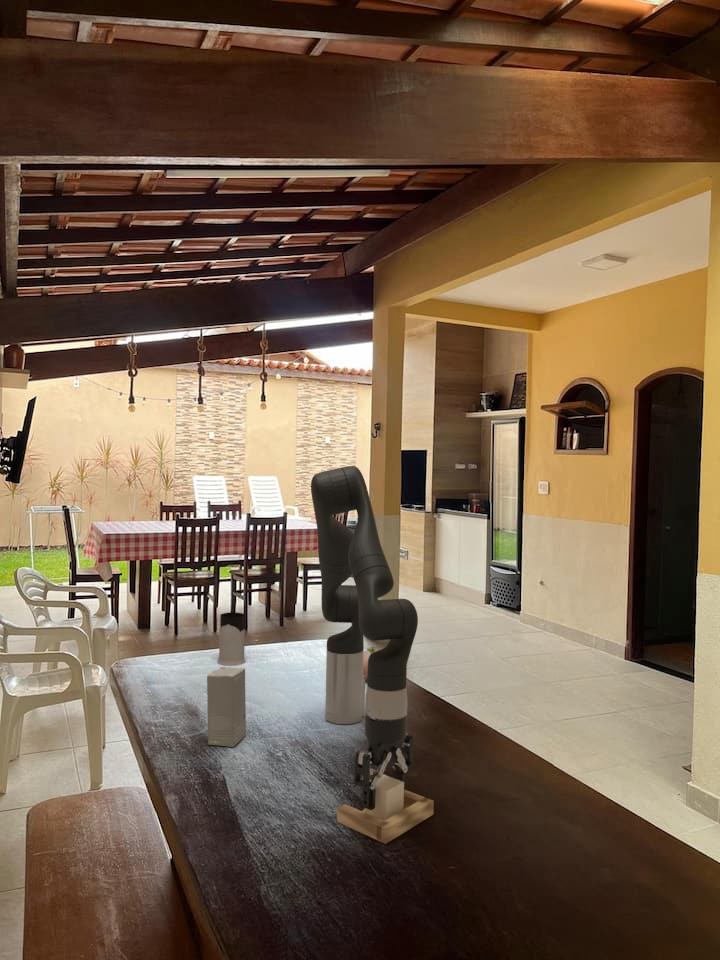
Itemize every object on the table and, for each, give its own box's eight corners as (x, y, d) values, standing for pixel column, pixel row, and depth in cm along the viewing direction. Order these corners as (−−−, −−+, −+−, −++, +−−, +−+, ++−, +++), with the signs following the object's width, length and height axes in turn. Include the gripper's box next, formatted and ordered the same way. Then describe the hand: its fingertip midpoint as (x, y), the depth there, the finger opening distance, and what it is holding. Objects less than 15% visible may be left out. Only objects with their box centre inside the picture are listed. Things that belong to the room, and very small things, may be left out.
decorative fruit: (351, 678, 215) (352, 644, 215) (376, 675, 219) (377, 642, 219) (365, 687, 207) (366, 652, 207) (390, 684, 210) (391, 649, 210)
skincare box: (234, 748, 160) (235, 677, 160) (203, 745, 162) (205, 674, 162) (247, 734, 169) (248, 667, 168) (218, 731, 170) (219, 664, 170)
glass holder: (213, 664, 226) (214, 616, 226) (229, 653, 240) (229, 608, 240) (240, 666, 225) (241, 618, 225) (254, 655, 239) (255, 609, 239)
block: (381, 806, 134) (382, 773, 134) (403, 815, 131) (403, 782, 131) (364, 815, 130) (364, 782, 130) (385, 825, 127) (386, 791, 127)
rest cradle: (385, 795, 139) (386, 782, 139) (433, 814, 132) (433, 800, 132) (336, 821, 128) (337, 807, 128) (385, 843, 121) (386, 829, 121)
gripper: (393, 696, 138) (391, 781, 138) (344, 715, 127) (342, 807, 128) (426, 706, 133) (424, 793, 134) (377, 726, 122) (375, 821, 123)
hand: (384, 800), depth 131 cm, fingers open, 8 cm apart
